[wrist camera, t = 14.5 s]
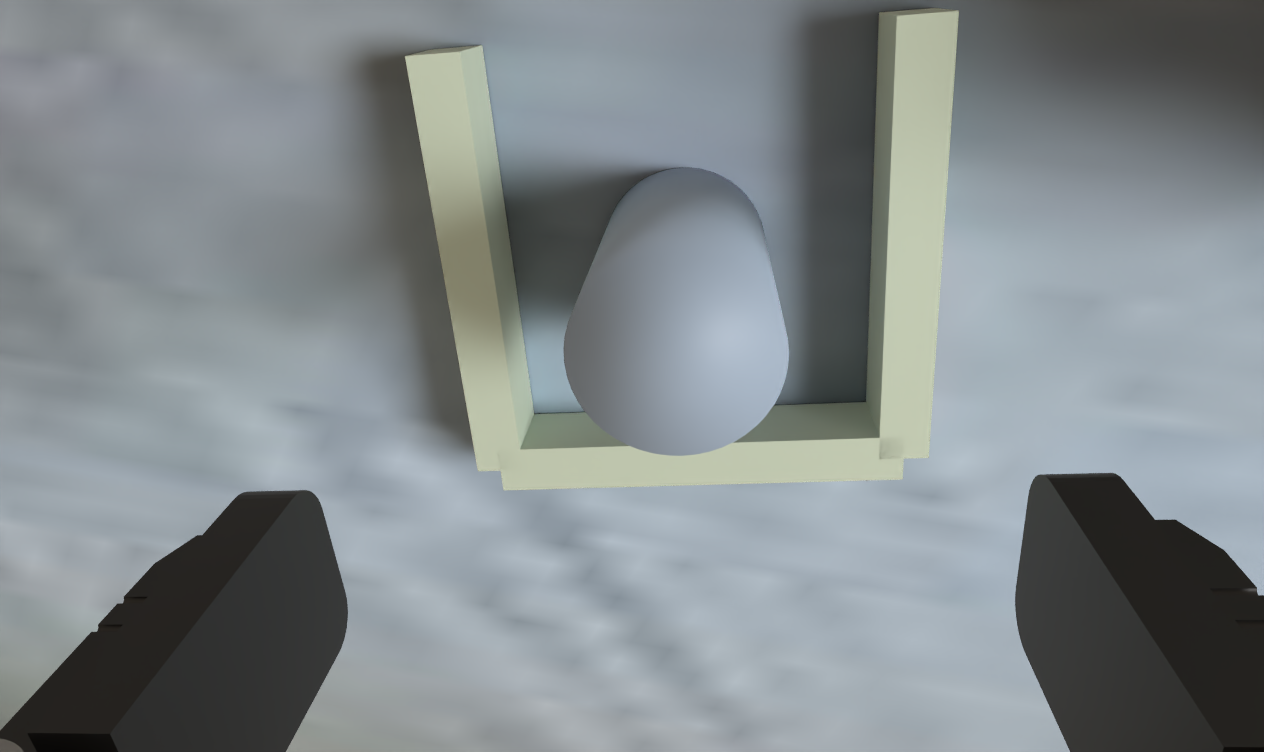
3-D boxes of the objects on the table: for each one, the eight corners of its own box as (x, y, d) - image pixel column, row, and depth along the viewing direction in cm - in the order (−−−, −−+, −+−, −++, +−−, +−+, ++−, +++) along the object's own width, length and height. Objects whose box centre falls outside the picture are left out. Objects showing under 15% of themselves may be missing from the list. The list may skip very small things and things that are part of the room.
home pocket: (431, 49, 20) (404, 56, 18) (935, 7, 19) (958, 11, 17) (497, 453, 25) (481, 491, 23) (910, 440, 23) (926, 478, 22)
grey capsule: (598, 173, 21) (551, 255, 15) (763, 162, 21) (787, 242, 14) (612, 326, 23) (576, 459, 16) (766, 319, 22) (789, 452, 16)
